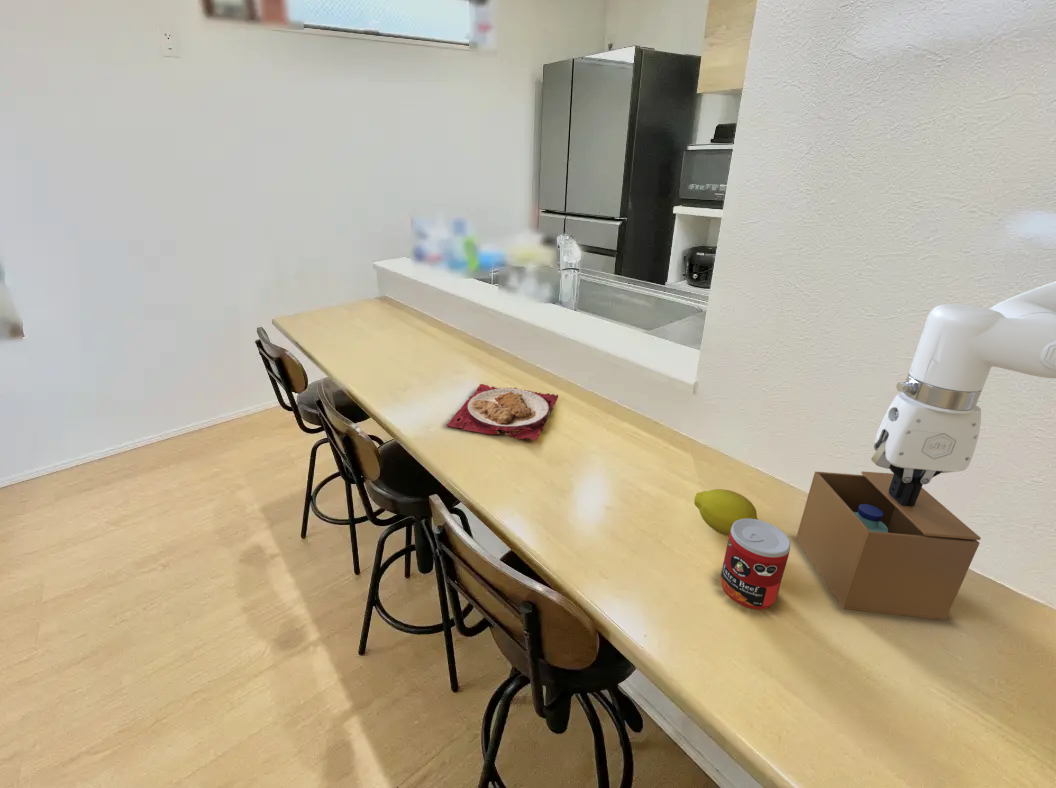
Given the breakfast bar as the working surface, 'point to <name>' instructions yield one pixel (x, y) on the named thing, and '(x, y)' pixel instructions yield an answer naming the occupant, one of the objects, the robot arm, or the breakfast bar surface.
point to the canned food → (754, 563)
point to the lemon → (723, 509)
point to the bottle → (871, 518)
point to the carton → (879, 552)
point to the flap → (924, 511)
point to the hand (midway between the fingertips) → (900, 499)
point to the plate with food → (505, 412)
